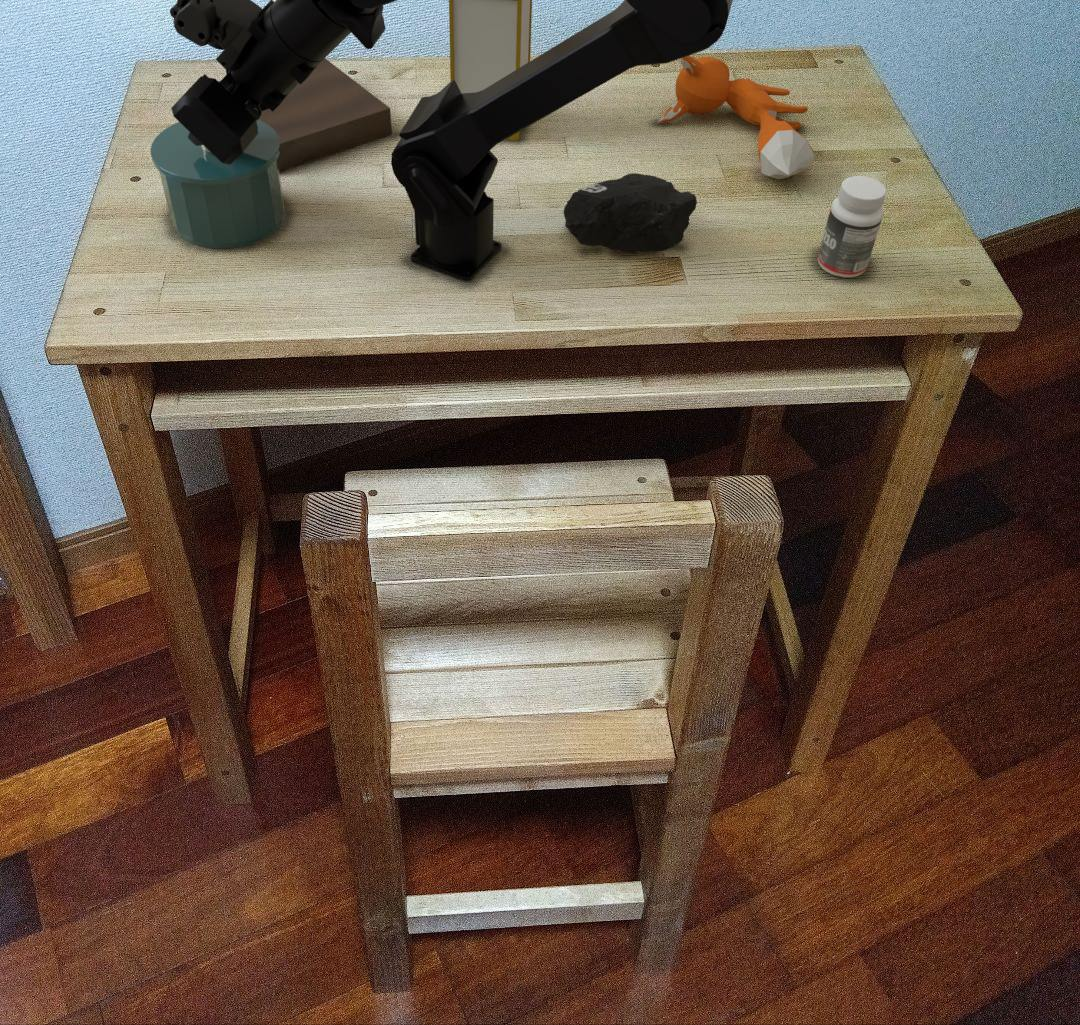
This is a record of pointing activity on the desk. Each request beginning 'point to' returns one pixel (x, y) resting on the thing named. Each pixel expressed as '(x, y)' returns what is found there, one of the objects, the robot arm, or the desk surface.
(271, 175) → the jar
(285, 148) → the board
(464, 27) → the white and yellow box
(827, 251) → the pill bottle
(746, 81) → the toy
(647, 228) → the rock
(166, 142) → the lid
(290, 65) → the robot arm
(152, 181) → the desk surface
